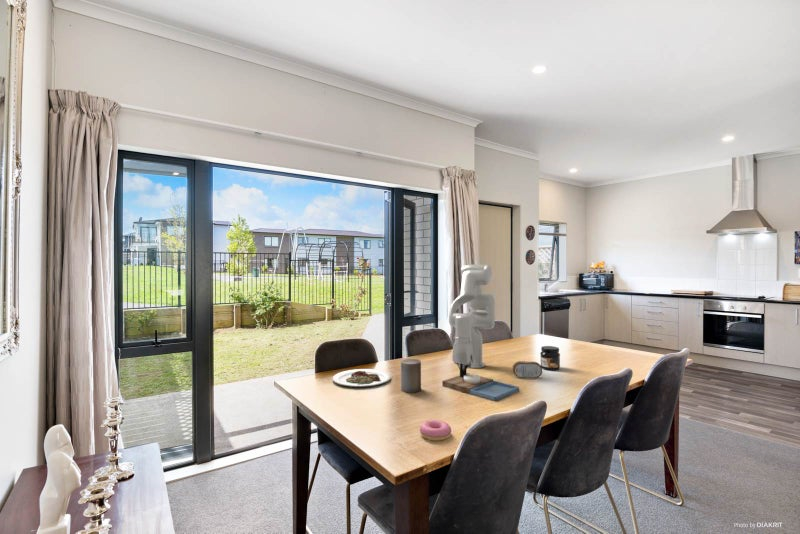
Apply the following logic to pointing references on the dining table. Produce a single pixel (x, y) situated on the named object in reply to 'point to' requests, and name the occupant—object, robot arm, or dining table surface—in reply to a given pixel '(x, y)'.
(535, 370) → the tin
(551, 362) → the supplement container
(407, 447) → the dining table surface
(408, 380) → the pillar candle
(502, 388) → the tray
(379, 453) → the dining table surface
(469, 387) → the wooden cutting board
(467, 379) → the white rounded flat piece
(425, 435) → the doughnut
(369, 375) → the plated food
